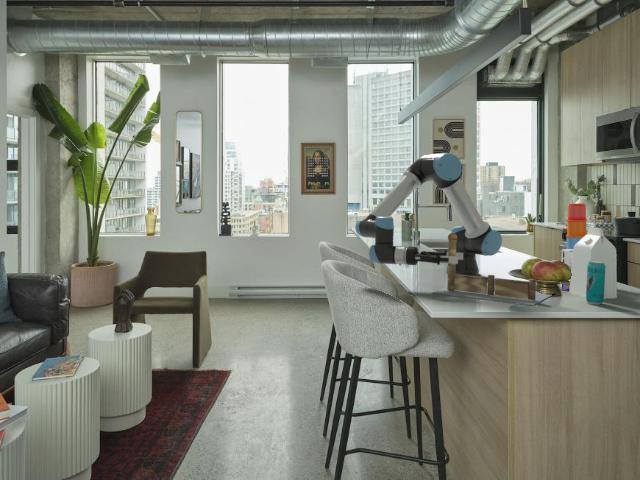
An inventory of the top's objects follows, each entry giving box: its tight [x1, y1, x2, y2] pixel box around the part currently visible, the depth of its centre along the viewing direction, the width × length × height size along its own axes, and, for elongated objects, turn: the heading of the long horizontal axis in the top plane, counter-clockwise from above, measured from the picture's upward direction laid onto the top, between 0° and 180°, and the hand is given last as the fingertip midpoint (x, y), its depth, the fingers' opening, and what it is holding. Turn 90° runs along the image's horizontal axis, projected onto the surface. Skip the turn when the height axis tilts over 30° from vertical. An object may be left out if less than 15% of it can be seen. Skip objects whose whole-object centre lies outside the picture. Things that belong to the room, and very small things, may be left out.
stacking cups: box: [565, 203, 588, 249], centre depth 238 cm, size 10×10×35 cm
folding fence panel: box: [446, 233, 488, 294], centre depth 213 cm, size 16×4×22 cm, turn 52°
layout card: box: [432, 285, 552, 306], centre depth 214 cm, size 28×38×1 cm
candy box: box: [560, 248, 573, 291], centre depth 222 cm, size 14×6×16 cm, turn 71°
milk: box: [568, 226, 618, 300], centre depth 209 cm, size 12×12×26 cm
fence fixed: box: [487, 274, 537, 300], centre depth 203 cm, size 2×18×7 cm, turn 52°
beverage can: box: [585, 261, 606, 306], centre depth 195 cm, size 6×6×15 cm
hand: (460, 258), depth 216 cm, fingers open, 13 cm apart
